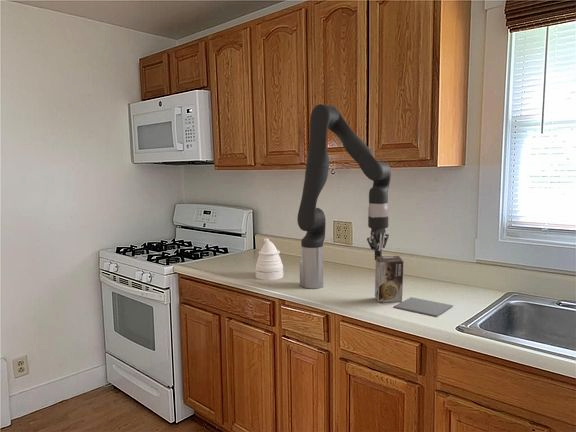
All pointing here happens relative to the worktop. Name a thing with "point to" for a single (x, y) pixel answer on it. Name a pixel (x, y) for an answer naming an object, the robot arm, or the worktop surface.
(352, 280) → the worktop surface
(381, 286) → the coffee box
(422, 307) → the mat
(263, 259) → the honey pot
